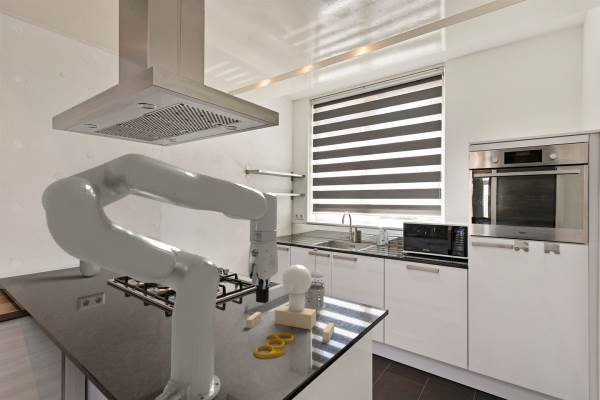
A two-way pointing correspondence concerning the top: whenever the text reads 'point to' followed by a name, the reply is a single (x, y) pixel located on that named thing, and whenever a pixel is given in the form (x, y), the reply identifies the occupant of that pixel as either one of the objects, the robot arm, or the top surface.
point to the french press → (315, 291)
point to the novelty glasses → (274, 349)
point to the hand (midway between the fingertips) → (262, 301)
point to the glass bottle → (88, 269)
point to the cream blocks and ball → (295, 303)
